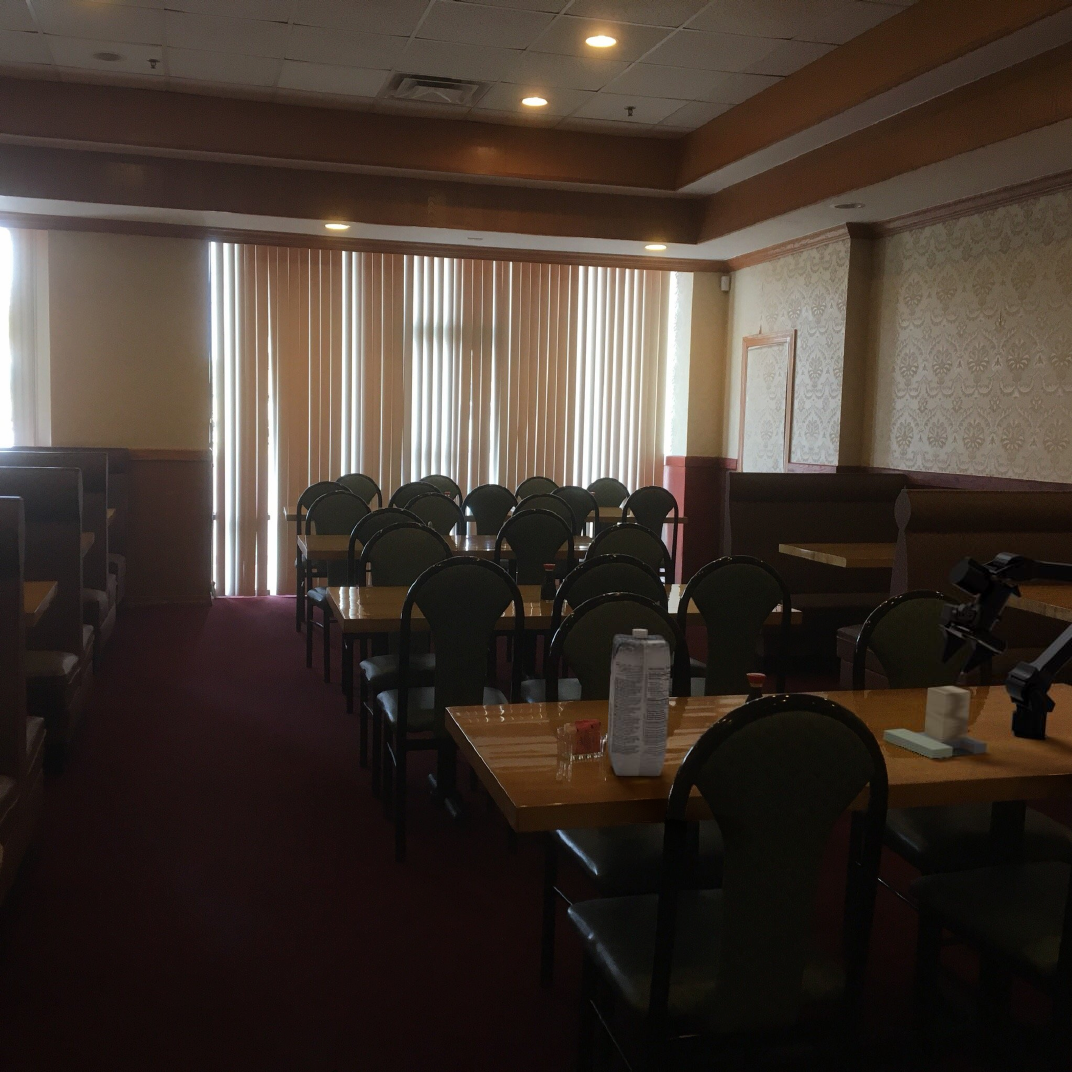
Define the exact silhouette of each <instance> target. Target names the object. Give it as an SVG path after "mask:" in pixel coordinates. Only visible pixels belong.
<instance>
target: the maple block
mask: <svg viewBox="0 0 1072 1072" xmlns="http://www.w3.org/2000/svg"><path fill="white" fill-rule="evenodd" d="M971 693H972V692H971V691H970V690H967V689H964V688H961V687H958V686H955V685H947V686H946V685H945V686H935V687H928V688H927V697H926V708H925V720H924V729H925V730H924V731H923V732H924V734H926V735H929V736H931V737H934V738H937V739H939V740H950V739H958V738H967V736H968V727H969V716H970V715H969V712H970V704H971V703H970V701H971Z"/></svg>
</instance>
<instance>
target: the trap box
mask: <svg viewBox="0 0 1072 1072" xmlns="http://www.w3.org/2000/svg"><path fill="white" fill-rule="evenodd" d="M924 730H925V728H924ZM882 738H883V741H885V742H888V743H890V744H893V745H895V746H898V747H900V746H901V748H903V747H904V748H903V749H905V748H907V749H908V751H910V750H911V751H910V752H912V751H914V752H913V753H915V752H917V753H919V754H918V755H920V754H921V755H920V756H922V755H924V756H923V757H925V756H927V757H930V758H939V759H943V758H942V757H946V758H953V757H952V756H954V757H961V756H960V755H962V756H967V755H966V754H970V755H977V754H984V753H986V752H987V747H988V746H987V745H988V743H987V742H985V741H982V740H979V739H976V738H974V737H971V736H968V735H967V738H958V739H950V740H939V739H937V738H934V737H931V736H929V735H926V734H924V731H923V732H922V731H921V732H914V731H912V730H908V729H906V728H897V729H887V730H883V737H882ZM907 749H906V750H907ZM917 753H916V754H917ZM950 756H951V757H950ZM927 757H926V758H927ZM930 758H929V759H930Z"/></svg>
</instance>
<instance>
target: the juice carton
mask: <svg viewBox="0 0 1072 1072" xmlns="http://www.w3.org/2000/svg"><path fill="white" fill-rule="evenodd" d="M610 661H611V662H610V679H609V681H610V682H609V701H608V722H607V753H608V759H609V761H610V765H611V767H612V769H613V771H614V773H615V776H617V777H618V776H619V777H660V776H661V774H662V771H663V768H664V765H665V764H664V763H665V759H666V753H667V739H668V738H667V737H668V720H669V719H668V718H669V705H670V704H669V703H670V700H669V699H670V681H671V645H670V644H669V642H668V641H667V640H666V639H665V638H664V637H663V636H662V635H659V634H656V635H655V634H653V635H648V629H643V628H634V629H632V635H630V634H621V633H619V634H615V635H614V637H613V641H612V652H611V659H610Z"/></svg>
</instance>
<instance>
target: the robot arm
mask: <svg viewBox="0 0 1072 1072" xmlns="http://www.w3.org/2000/svg"><path fill="white" fill-rule="evenodd" d="M993 578H996V579H995V580H994V579H993ZM948 579H949V580H948V581H949V583H950V584H951V585H953V586H955V587H957V588H958V589H960V590H962V591H963V592H965V593H967V594H968V595H970V596H974V597H975V596H977V597H976V598H975V601H969V602H968V603H967V604H964V603H961V604H960V605H957V604H950V603H943V604H942V605H943V606H942V610H941V614H940V615H941V616H940V618H941V619H940V620H939V622H938V625H939V626H940V627H939V629H940V630H941V632H942V634H943V635H942V636H943V637H944V638H943V646H942V650H941V656H940V663H942V664H944V665H945V664H946V663H947V662H949V661H950V660H951V659H952V658H953V657H954V656H955V654H957V653H958V651H960V650H961V648H963V646H964V645H966V643H967V642H968V641H967V640H966V639H968V638H970V645H971V649H970V651H969V653H968V656H967V658H966V660H965V663H964V665H963V667H962V670H961V672H962V673H964V674H968V673H970V672H971V671H973V670H975V668H978V667H979V666H980V665H981V664H983V663H985V662H987V661H988V660H990V659H992V658H993V657H995V656H999V655H1000V653H1001V654H1004V653H1005V652H1006V650H1007V648H1008V646H1009V645H1008V641H1007V639H1005V638H1003V637H1001V636H1000V635H998V634H996V633H994V632H993V631H992V629H993V627H994V626H995V625H996V624H995V623H997V621H998V622H1000V623H1001V622H1002V620H1003V618H1004V617H1003V616H1001V613H1002V611H1004V608H1005V606H1006V605H1007V603H1008V601H1009V599H1010V597H1011V596H1013V597H1016V598H1019V599H1020V598H1022V593H1021V591H1020V588H1019V584H1015V583H1021V582H1030V581H1034V580H1035V581H1036V580H1042V579H1043V580H1050V581H1051V580H1052V581H1061V582H1069V583H1070V582H1071V583H1072V564H1070V563H1062V562H1061V563H1060V562H1049V561H1041V560H1036V559H1034V558H1030V557H1027V556H1023V555H1019V554H1015V553H1011V552H999V553H998V554H997V555H996V556H995V557H994V558H993V559H992V560H990V561H989V562H986V563H984V564H980V563H978V562H977V561H976V560H975V559H974V558H973V557H968V556H965V557H964V559H963V560H962V561H960V562H958V563H957V564H956V565H955V566H954V567H952V569H951V571H950V573H949V575H948ZM1004 580H1008V581H1012V582H1015V583H1011V584H1009V583H1008V582H1006V581H1004ZM1071 659H1072V623H1071V624H1070V625H1069V626H1068V627H1067V628H1065V630H1064V631H1063V632H1062V633H1061V634H1060V635H1059V636H1058V637H1057V638H1056V639H1055V641H1053V642H1052V643H1051V644H1050V645H1049V647H1048V648H1047V649H1045V650H1044V651H1043V652H1042V654H1040V656H1039V657H1038V658H1037V659H1036V660H1034V661H1033V662H1030V663H1027V662H1025V661H1020V662H1018V663H1017V665H1016V666H1015V667H1014V668H1013V669H1012V670H1011V671H1009V672H1007V675H1008V676H1007V678H1005V679H1006V680H1005V682H1004V683H1005V690H1006V692H1007V694H1008V695H1009V698H1010V702H1011V703H1013V704H1015V708H1014V709H1015V710H1014V709H1013V710H1012V712H1011V719H1010V720H1011V723H1010V730H1011V732H1012V733H1013V736H1016V737H1022V738H1031V739H1032V738H1033V739H1038V740H1040V739H1041V740H1047V736H1046V735H1047V734H1046V731H1047V728H1046V727H1047V718H1048V713H1053V711H1054V709H1055V707H1056V702H1055V701H1054V700H1053V699H1052V697H1051V696H1050V695H1049V694H1048V693H1049V691H1050V690H1051V687H1052V684H1053V681H1054V680H1053V679H1054V676H1055V675H1056V674H1058V672H1059V671H1060V670H1061V669H1062V668H1063V667H1064V666H1065V665H1066V664H1067V663H1068V662H1070V660H1071Z"/></svg>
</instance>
